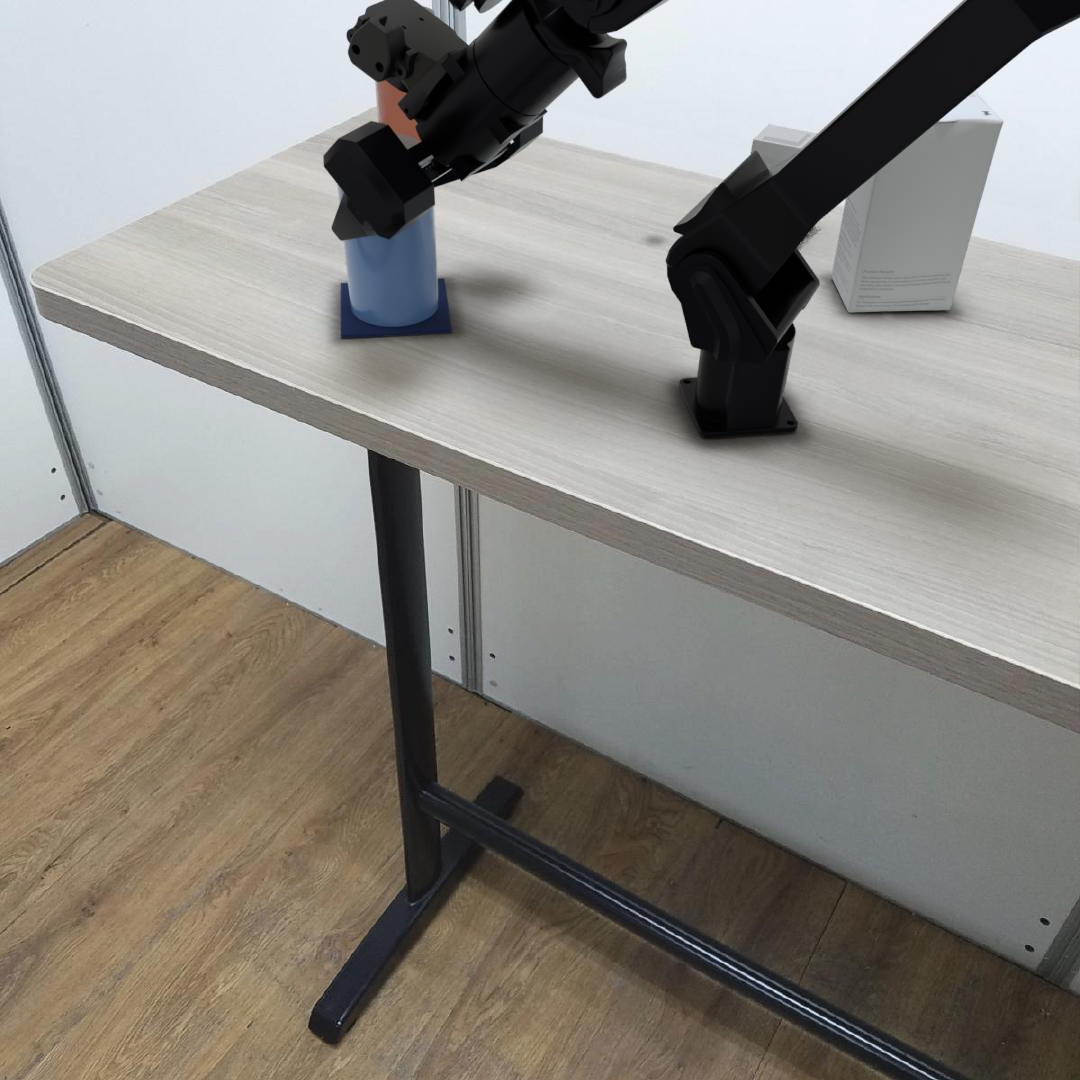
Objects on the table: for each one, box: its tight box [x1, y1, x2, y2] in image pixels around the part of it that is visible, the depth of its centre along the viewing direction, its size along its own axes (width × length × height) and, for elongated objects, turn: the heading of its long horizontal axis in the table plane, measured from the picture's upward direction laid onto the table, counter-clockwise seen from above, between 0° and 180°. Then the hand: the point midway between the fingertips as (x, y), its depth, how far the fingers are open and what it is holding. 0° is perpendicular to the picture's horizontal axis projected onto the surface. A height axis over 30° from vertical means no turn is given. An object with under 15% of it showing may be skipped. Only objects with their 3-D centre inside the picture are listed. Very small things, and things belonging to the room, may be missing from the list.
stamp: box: [750, 123, 818, 168], centre depth 90 cm, size 9×7×8 cm
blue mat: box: [340, 277, 453, 340], centre depth 81 cm, size 8×8×1 cm
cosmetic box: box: [831, 89, 1005, 313], centre depth 79 cm, size 8×6×15 cm
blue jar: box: [336, 133, 439, 327], centre depth 77 cm, size 7×7×12 cm
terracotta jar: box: [374, 5, 442, 142], centre depth 102 cm, size 7×7×12 cm
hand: (375, 209), depth 77 cm, fingers open, 9 cm apart
